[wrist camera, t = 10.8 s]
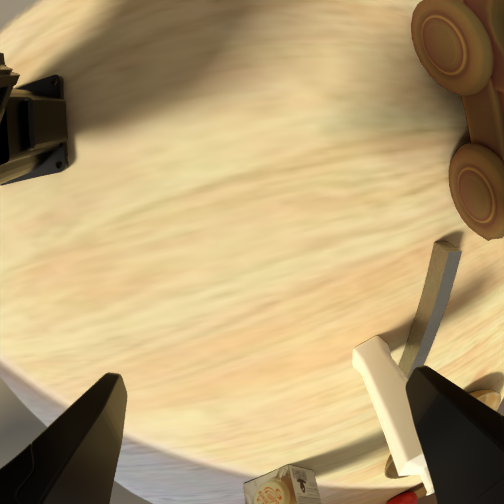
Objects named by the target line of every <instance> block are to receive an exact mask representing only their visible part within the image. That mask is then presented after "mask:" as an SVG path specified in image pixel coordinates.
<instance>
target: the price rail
mask: <svg viewBox="0 0 504 504" xmlns="http://www.w3.org/2000/svg"><path fill="white" fill-rule="evenodd" d="M461 252H462V251H461V250H459V249H458V248H456V247H455V246H454V245H452V244H451V243H449V242H448V241H447V242H434V246H433V251H432V255H431V260H430V264H429V269H428V273H427V277H426V281H425V285H424V288H423V292H422V296H421V299H420V303H419V306H418V310H417V313H416V316H415V320H414V323H413V326H412V329H411V332H410V335H409V338H408V341H407V344H406V347H405V349H404V352H403V355H402V358H401V360H400V363H399V365H398V366H399V368H400V369H401V370H402V372H403V373H404V374H405V376H406V377H407V378H408V379H409V377H410V375H411V373H412V371H413V370H414V368H416V367H418V366H423V365H424V363H425V360H426V358H427V356H428V353H429V351H430V348H431V346H432V343H433V341H434V338H435V336H436V333H437V331H438V328H439V325H440V322H441V320H442V317H443V314H444V311H445V308H446V305H447V302H448V299H449V296H450V292H451V289H452V286H453V282H454V279H455V275H456V272H457V268H458V264H459V260H460V256H461Z"/></svg>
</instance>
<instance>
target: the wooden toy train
mask: <svg viewBox="0 0 504 504" xmlns="http://www.w3.org/2000/svg"><path fill="white" fill-rule="evenodd" d="M411 32H412V40H413V43H414V47H415V51H416V53H417V55H418V57H419V59H420V61H421V63H422V65H423V66H424V67H425V69H426V70H427V72H428V73H429V75H430V76H431V77H432V78H433V79H434V80H435V81H436V82H437V83H438V84H439V85H441V86H442V87H444V88H445V89H447V90H449V91H450V92H453V93H455V94H460V95H461V97H462V101H463V105H464V110H465V114H466V118H467V123H468V128H469V133H470V139H471V144H465V145H463V146H462V147H460V148H459V149H458V150H457V152H456V153H455V155H454V156H453V158H452V160H451V162H450V168H449V187H450V191H451V196H452V199H453V201H454V204H455V206H456V209H457V211H458V212H459V214H460V216H461V218H462V219H463V220H464V222H465V223H466V224H467V225H468V227H469V228H471V229H472V230H473V231H474V232H476V233H477V234H478V235H480V236H481V237H483V238H485V239H486V240H488V241H489V240H491V239H499V238H503V237H504V0H423V1H421V2H420V3H419V4H417V6H416V8H415V10H414V12H413V16H412V23H411Z"/></svg>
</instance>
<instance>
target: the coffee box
mask: <svg viewBox="0 0 504 504" xmlns="http://www.w3.org/2000/svg"><path fill="white" fill-rule="evenodd" d="M243 488H244V496H245V504H322V501H321V497H320V494H319V490H318V487H317V483H316V479H315V475H314V472H313V471H312V470H308V469H304V468H300V467H296V466H292V465H286V466H284V467H281V468H279V469H277V470H275V471H273V472H271V473H268V474H266V475H264V476H261V477H259V478H257V479H254V480H252V481H249V482H247V483H244V484H243Z"/></svg>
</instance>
